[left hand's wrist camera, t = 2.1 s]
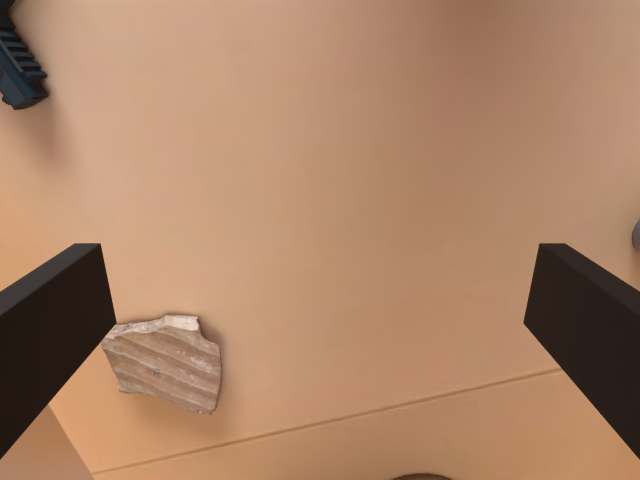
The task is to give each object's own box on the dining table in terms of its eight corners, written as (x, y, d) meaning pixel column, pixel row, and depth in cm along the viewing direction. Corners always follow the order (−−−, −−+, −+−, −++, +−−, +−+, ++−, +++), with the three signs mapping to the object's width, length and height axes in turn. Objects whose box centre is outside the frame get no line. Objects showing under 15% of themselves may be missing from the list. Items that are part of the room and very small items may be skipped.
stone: (230, 321, 45) (225, 334, 43) (219, 406, 49) (214, 422, 47) (111, 301, 44) (99, 314, 42) (110, 389, 49) (99, 405, 46)
